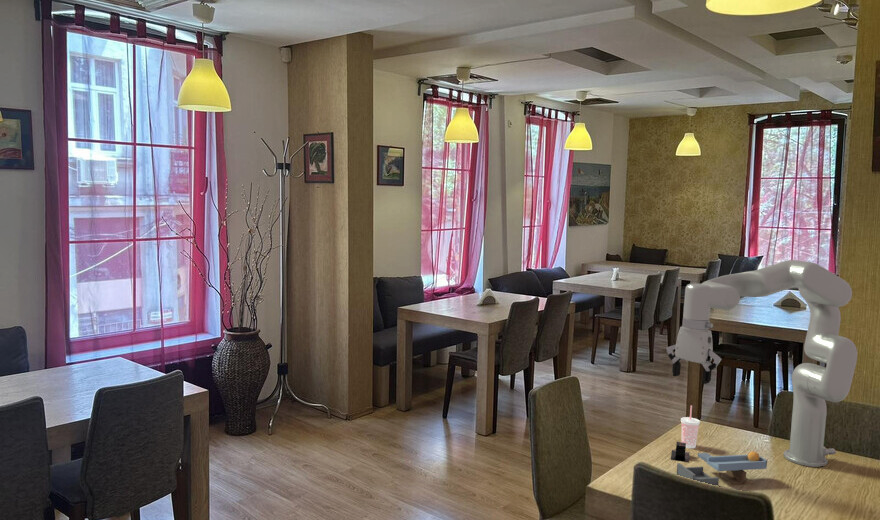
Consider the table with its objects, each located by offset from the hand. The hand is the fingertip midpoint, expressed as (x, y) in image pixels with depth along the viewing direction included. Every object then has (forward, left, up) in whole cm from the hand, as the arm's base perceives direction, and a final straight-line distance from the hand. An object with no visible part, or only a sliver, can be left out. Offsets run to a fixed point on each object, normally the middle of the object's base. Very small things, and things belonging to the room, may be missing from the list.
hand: (690, 379), depth 206 cm
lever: (-11, +7, -24) cm, 27 cm away
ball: (-16, +10, -21) cm, 29 cm away
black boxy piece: (-4, -9, -29) cm, 30 cm away
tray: (+2, +10, -28) cm, 30 cm away
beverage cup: (-12, -17, -28) cm, 35 cm away
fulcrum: (-11, +10, -28) cm, 32 cm away
